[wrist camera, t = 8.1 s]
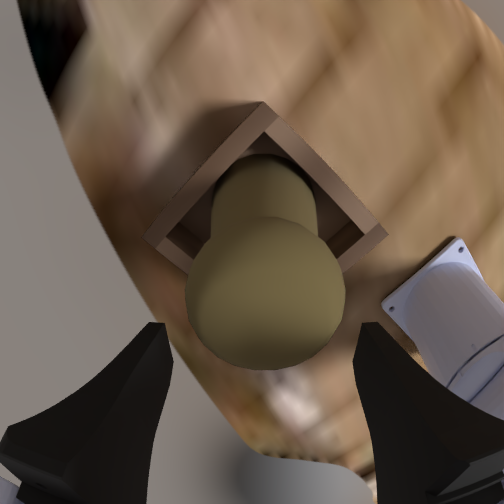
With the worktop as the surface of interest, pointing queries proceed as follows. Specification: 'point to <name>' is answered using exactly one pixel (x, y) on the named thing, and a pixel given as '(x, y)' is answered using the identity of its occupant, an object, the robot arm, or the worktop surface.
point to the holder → (278, 143)
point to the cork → (264, 269)
